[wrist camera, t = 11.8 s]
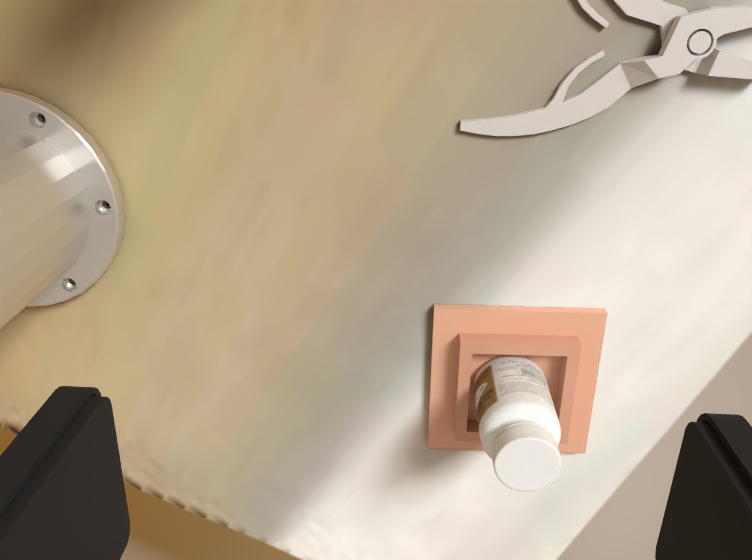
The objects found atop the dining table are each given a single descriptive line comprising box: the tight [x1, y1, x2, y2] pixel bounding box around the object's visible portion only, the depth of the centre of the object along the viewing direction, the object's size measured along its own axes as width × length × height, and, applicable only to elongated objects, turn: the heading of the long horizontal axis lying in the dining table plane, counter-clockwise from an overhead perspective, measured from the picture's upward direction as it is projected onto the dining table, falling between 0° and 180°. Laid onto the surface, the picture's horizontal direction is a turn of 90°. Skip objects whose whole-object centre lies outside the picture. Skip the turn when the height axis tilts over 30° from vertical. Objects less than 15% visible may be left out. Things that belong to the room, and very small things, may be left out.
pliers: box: [460, 0, 752, 136], centre depth 34 cm, size 10×2×15 cm
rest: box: [428, 304, 607, 453], centre depth 42 cm, size 10×10×2 cm
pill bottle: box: [473, 355, 561, 492], centre depth 39 cm, size 4×4×8 cm
